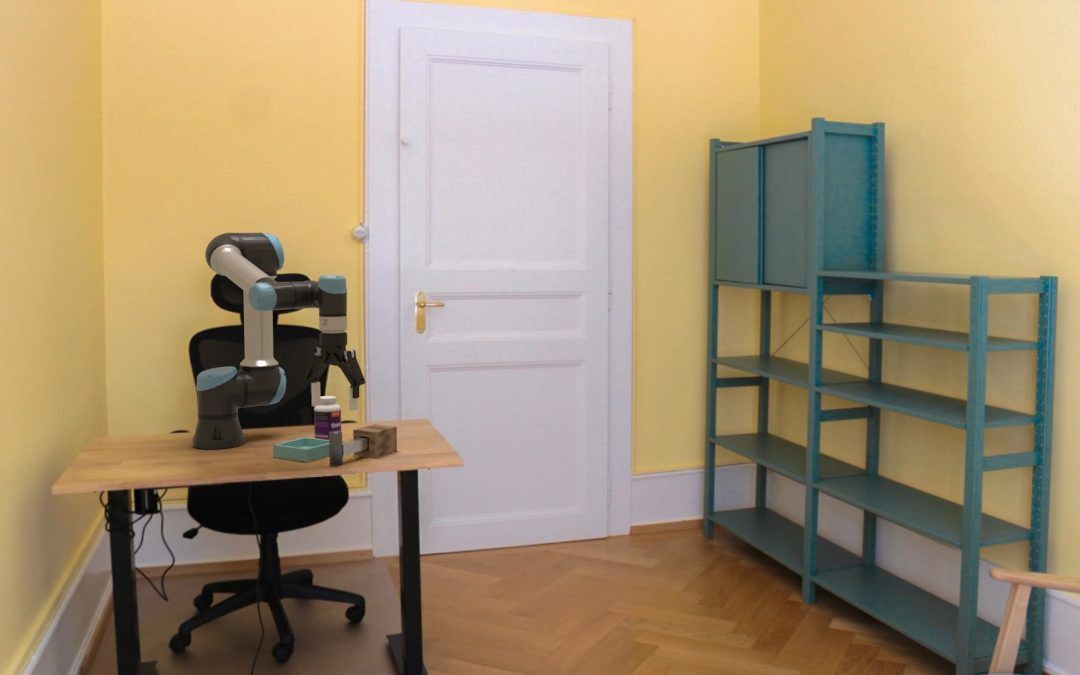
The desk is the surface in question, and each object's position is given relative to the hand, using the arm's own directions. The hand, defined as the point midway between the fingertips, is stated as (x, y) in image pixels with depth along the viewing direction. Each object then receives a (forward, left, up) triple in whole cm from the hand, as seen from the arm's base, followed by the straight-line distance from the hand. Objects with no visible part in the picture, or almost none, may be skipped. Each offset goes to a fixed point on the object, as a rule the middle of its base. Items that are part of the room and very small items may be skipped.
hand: (334, 407), depth 265 cm
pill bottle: (-22, +21, -16) cm, 34 cm away
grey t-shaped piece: (0, +7, -16) cm, 17 cm away
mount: (0, +17, -16) cm, 23 cm away
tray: (-16, +5, -16) cm, 23 cm away
